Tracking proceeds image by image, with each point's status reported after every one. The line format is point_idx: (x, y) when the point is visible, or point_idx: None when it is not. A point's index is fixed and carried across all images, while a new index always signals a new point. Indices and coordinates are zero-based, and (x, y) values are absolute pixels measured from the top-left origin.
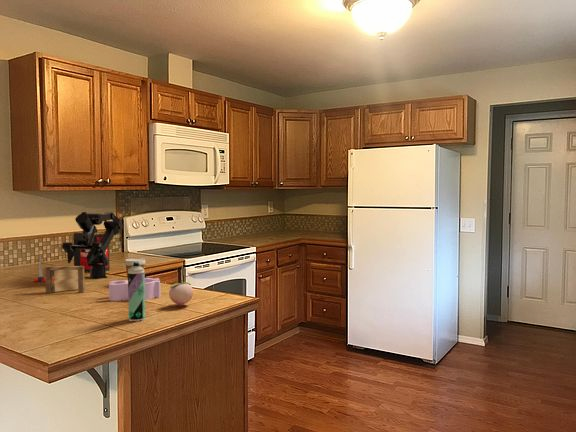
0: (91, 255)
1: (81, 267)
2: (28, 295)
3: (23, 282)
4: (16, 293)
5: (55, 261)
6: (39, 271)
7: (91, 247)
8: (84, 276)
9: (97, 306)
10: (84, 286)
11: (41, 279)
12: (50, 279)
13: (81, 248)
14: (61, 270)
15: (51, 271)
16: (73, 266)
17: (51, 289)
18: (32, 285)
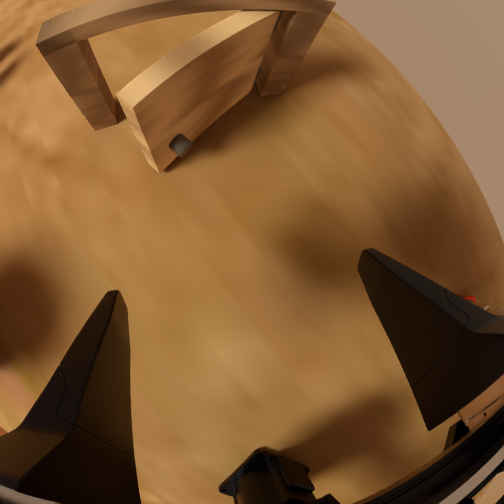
0: (59, 373)
1: (50, 21)
2: (314, 48)
3: (483, 276)
4: (382, 82)
5: (474, 498)
6: (488, 307)
7: (9, 483)
8: (63, 85)
9: (12, 22)
10: (85, 113)
11: None
12: (272, 38)
13: (366, 502)
14: (228, 23)
15: (290, 17)
16: (115, 4)
17: (261, 79)
18: (440, 230)
